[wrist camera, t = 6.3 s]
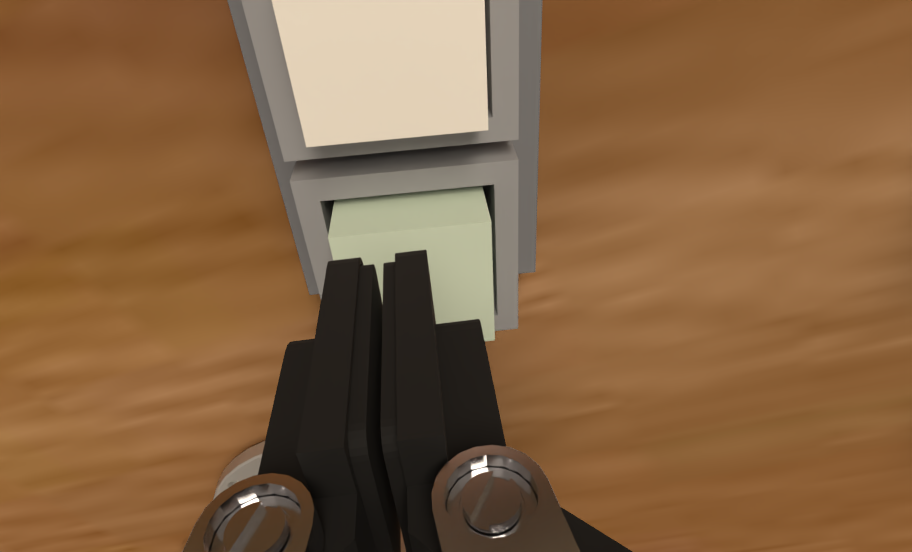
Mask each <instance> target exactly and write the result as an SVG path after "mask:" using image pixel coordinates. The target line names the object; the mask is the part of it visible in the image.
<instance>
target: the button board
mask: <svg viewBox="0 0 912 552" xmlns="http://www.w3.org/2000/svg"><path fill="white" fill-rule="evenodd" d="M228 4H229V7H230V11H231V15H232V18H233V22H234V25H235V29H236V33H237V36H238V40H239V43H240V47H241V50H242V54H243V58H244V61H245V65H246V68H247V72H248V75H249V79H250V83H251V86H252V90H253V93H254V97H255V101H256V104H257V108H258V111H259V115H260V118H261V122H262V126H263V129H264V133H265V136H266V140H267V143H268V147H269V151H270V154H271V158H272V161H273V165H274V169H275V172H276V176H277V179H278V183H279V186H280V190H281V194H282V197H283V201H284V204H285V208H286V211H287V215H288V219H289V222H290V226H291V229H292V233H293V237H294V240H295V244H296V247H297V251H298V254H299V258H300V262H301V265H302V269H303V272H304V276H305V279H306V283H307V287H308V290H309V294H310V295H313V294H320V298H322V292H323V286H324V280H325V274H326V268H327V263H328V261H333V257H332V253H331V249H330V244H329V240H328V235H329V229H330V223H331V217H332V211H333V205H334V200H338V199H349V198H359V197H369V196H380V195H390V194H400V193H411V192H421V191H431V190H441V189H452V188H462V187H472V186H482V187H483V191H484V195H485V199H486V203H487V207H488V210H489V214H490V218H491V227H492V260H493V293H494V327H495V331H499V330H508V329H518V274H519V273H529V272H535V262H536V223H537V185H538V146H539V107H540V69H541V30H542V0H485V33H486V66H487V99H488V130H485V131H475V132H464V133H453V134H443V135H432V136H421V137H411V138H400V139H390V140H379V141H368V142H358V143H347V144H336V145H326V146H315V147H306V144H305V139H304V135H303V131H302V127H301V123H300V118H299V114H298V110H297V106H296V101H295V97H294V93H293V89H292V85H291V80H290V76H289V72H288V68H287V63H286V59H285V55H284V51H283V46H282V42H281V38H280V34H279V30H278V25H277V21H276V17H275V13H274V8H273V4H272V0H228Z"/></svg>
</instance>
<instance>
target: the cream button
mask: <svg viewBox="0 0 912 552" xmlns="http://www.w3.org/2000/svg"><path fill="white" fill-rule="evenodd" d="M272 4H273V8H274V13H275V17H276V21H277V25H278V30H279V34H280V38H281V42H282V46H283V51H284V55H285V59H286V63H287V68H288V72H289V76H290V80H291V85H292V89H293V93H294V97H295V101H296V106H297V110H298V114H299V118H300V123H301V127H302V131H303V135H304V139H305V144H306V147H315V146H326V145H336V144H347V143H358V142H368V141H379V140H390V139H400V138H411V137H421V136H432V135H443V134H453V133H464V132H475V131H485V130H488V99H487V66H486V33H485V0H272Z"/></svg>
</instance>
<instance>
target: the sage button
mask: <svg viewBox="0 0 912 552" xmlns="http://www.w3.org/2000/svg"><path fill="white" fill-rule="evenodd" d="M328 240H329V244H330V249H331V253H332V257H333V260H342V259H350V258H359V257H361V259H362V261H363V265H371V264H374V265H375V268H376V273H377V278H378V283H379V289H380V294H381V299H382V304H383V264H384V263H388V262H395V253H401V252H410V251H418V250H426V251H427V258H428V265H429V273H430V281H431V289H432V296H433V304H434V312H435V320H436V324H441V323H449V322H457V321H466V320H474V319H479V320H480V322H481V327H482V331H483V336H484V341H493V340H495V327H494V293H493V260H492V227H491V218H490V214H489V210H488V207H487V203H486V199H485V195H484V191H483V187H482V186H472V187H462V188H452V189H441V190H431V191H421V192H411V193H400V194H390V195H380V196H369V197H359V198H349V199H338V200H334V205H333V211H332V217H331V223H330V229H329V235H328Z"/></svg>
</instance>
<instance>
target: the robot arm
mask: <svg viewBox="0 0 912 552" xmlns="http://www.w3.org/2000/svg"><path fill="white" fill-rule="evenodd" d="M183 552H632V551H631V550H629V549H627V548H626V547H624V546H622V545H621V544H619V543H618V542H616V541H614V540H613V539H611V538H610V537H608V536H606V535H605V534H603V533H602V532H600V531H598V530H597V529H595V528H593V527H592V526H590V525H589V524H587V523H585V522H584V521H582V520H581V519H579V518H577V517H576V516H574V515H573V514H571V513H569V512H568V511H566V510H565V509H563V508H561V507H560V505H559V503H558V501H557V498H556V496H555V494H554V492H553V489H552V487H551V485H550V483H549V481H548V478H547V477H546V475H545V474H544V472H543V471H542V469H541V468H540V466H539V465H538V464H537V463H536V462H535V461H533V460H532V459H531V458H530V457H528V456H527V455H526V454H524V453H522V452H520V451H517V450H515V449H513V448H510V447H506V444H505V439H504V434H503V429H502V424H501V419H500V414H499V410H498V405H497V400H496V395H495V390H494V385H493V380H492V375H491V370H490V365H489V361H488V356H487V351H486V346H485V341H484V336H483V331H482V327H481V322H480V320H479V319H474V320H466V321H457V322H449V323H441V324H436V320H435V312H434V304H433V296H432V289H431V281H430V273H429V265H428V258H427V251H426V250H418V251H410V252H401V253H395V262H388V263H384V264H383V304H382V299H381V294H380V289H379V283H378V278H377V273H376V268H375V265H374V264H371V265H363V261H362V259H361V257H359V258H350V259H342V260H333V261H328V263H327V268H326V274H325V280H324V286H323V292H322V298H321V305H320V311H319V317H318V323H317V329H316V335H315V339H309V340H301V341H293V342H290V343H289V344H288V345H287V348H286V351H285V355H284V359H283V364H282V368H281V373H280V377H279V382H278V386H277V391H276V395H275V400H274V404H273V409H272V413H271V418H270V422H269V427H268V431H267V436H266V440H265V441H263V442H261V443H259V444H257V445H255V446H252V447H250V448H248V449H247V450H245V451H244V452H242V453H241V454H240V455H238V456H237V457H235V458H234V459H233V460H232V461H231V462H230V463H229V464H228V466H227V467H226V468H225V469H224V470H223V472H222V474H221V476H220V478H219V481H218V483H217V487H216V491H215V496H214V499H213V501H212V502H211V503H210V504H209V505H208V506H207V507H206V508H205V509H204V511H203V513H202V514H201V516H200V517H199V519H198V521H197V522H196V524H195V526H194V528H193V530H192V532H191V534H190V537H189V539H188V541H187V543H186V545H185V547H184V550H183Z"/></svg>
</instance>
